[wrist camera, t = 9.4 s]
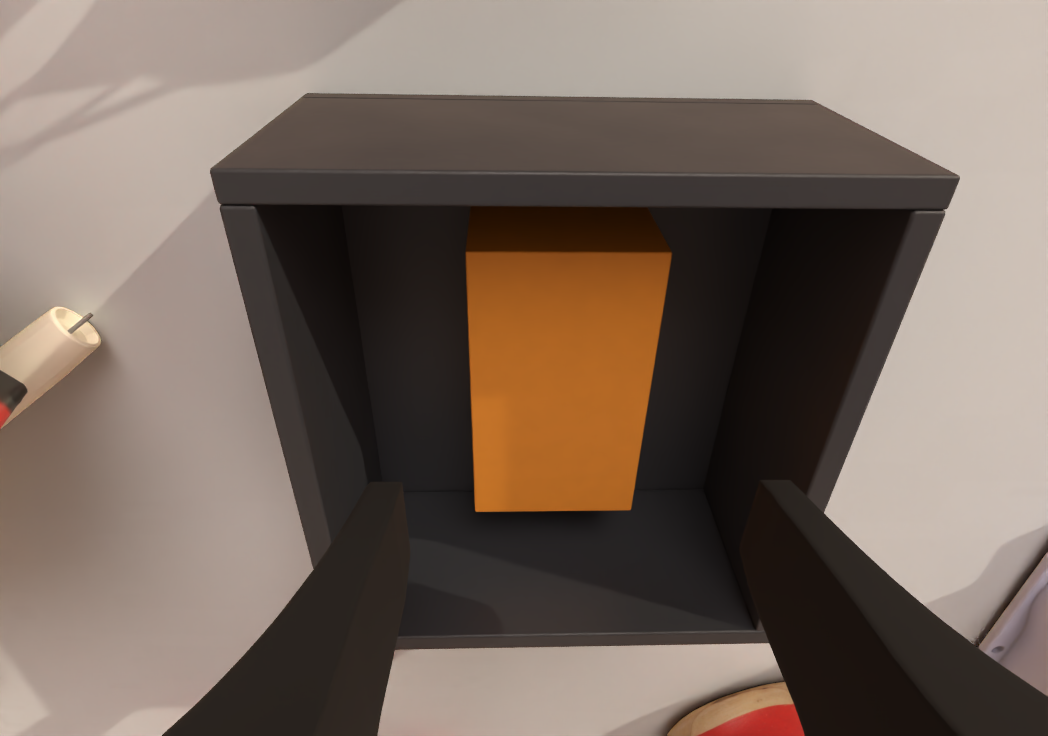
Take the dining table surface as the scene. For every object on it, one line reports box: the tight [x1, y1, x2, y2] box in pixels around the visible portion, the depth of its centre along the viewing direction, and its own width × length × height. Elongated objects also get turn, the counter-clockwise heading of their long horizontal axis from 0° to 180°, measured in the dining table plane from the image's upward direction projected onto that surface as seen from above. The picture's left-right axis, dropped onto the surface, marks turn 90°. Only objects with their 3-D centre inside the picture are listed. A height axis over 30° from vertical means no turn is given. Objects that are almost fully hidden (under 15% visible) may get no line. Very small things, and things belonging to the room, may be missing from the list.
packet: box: [465, 206, 672, 512], centre depth 17 cm, size 4×8×3 cm, turn 179°
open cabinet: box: [210, 93, 960, 650], centre depth 16 cm, size 13×12×6 cm
